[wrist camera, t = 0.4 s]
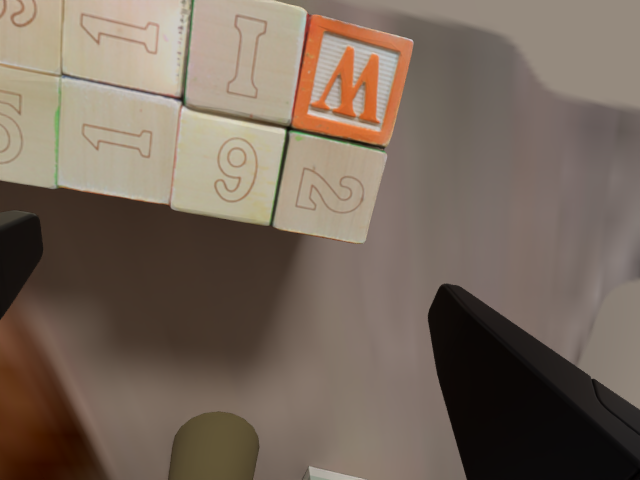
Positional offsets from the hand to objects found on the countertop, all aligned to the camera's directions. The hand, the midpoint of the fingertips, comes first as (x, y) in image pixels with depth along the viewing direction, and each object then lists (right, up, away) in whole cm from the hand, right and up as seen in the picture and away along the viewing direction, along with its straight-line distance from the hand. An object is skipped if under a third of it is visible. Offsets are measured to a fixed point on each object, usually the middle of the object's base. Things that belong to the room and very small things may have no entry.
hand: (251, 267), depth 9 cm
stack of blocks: (-8, +9, +13) cm, 18 cm away
